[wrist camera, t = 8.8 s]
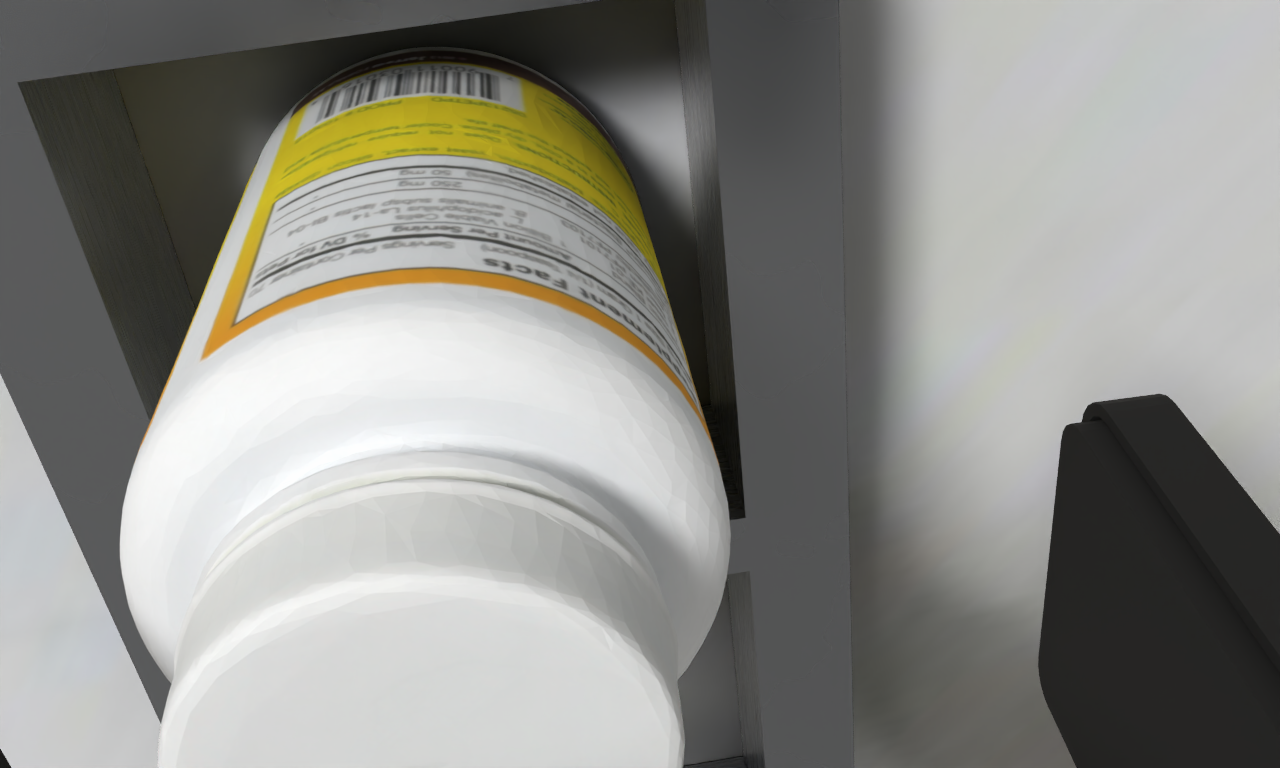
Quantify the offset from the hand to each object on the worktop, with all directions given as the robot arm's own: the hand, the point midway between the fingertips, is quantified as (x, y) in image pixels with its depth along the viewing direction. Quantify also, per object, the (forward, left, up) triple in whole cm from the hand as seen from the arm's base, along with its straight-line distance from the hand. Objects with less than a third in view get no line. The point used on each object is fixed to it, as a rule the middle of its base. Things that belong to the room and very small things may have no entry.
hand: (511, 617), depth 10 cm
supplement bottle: (+1, 0, -9) cm, 9 cm away
